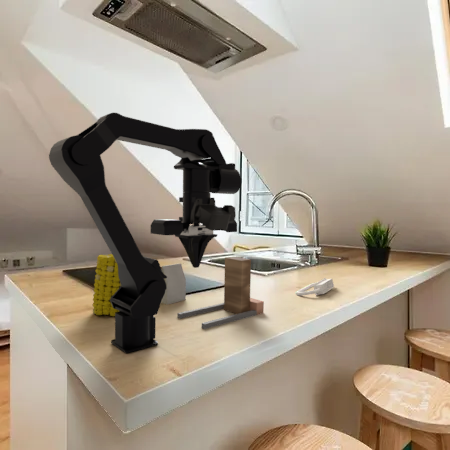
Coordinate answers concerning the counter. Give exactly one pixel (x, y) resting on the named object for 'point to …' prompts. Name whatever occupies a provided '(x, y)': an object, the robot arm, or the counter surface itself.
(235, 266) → the brown wooden tall block
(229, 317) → the twin grey rails
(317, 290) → the oval loop handle
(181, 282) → the tea bag
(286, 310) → the counter surface
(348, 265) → the counter surface
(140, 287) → the robot arm
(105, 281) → the food
